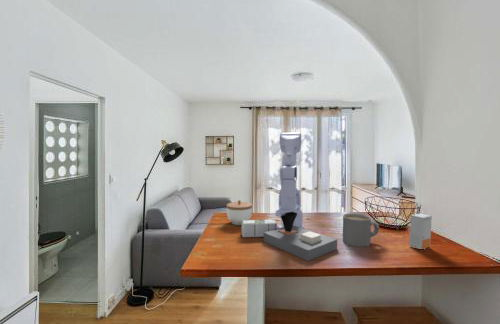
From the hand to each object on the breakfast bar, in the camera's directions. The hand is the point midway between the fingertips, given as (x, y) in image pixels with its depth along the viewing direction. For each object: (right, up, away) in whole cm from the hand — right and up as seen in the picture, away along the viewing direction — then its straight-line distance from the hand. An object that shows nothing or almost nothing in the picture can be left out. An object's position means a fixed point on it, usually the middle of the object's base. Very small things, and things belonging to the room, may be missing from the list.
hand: (288, 231), depth 99 cm
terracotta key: (0, -4, 0) cm, 4 cm away
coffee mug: (+28, -4, -1) cm, 28 cm away
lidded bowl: (-20, -3, +24) cm, 32 cm away
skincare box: (+47, -4, -7) cm, 48 cm away
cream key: (+7, -3, -8) cm, 11 cm away
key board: (+3, -4, -4) cm, 7 cm away
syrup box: (-19, -1, +6) cm, 19 cm away
